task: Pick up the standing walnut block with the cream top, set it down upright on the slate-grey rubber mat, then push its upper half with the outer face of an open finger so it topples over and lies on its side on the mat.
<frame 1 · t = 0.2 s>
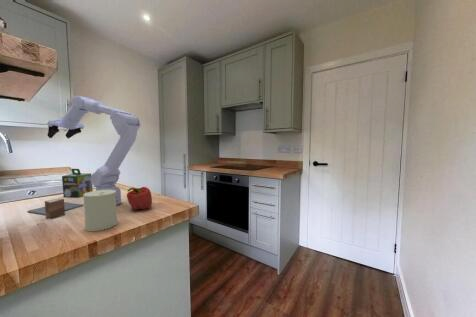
hand: (58, 136, 95), 31 cm above the worktop, tool tilted 50°, fingers open, 7 cm apart
mat: (57, 208, 84), on the worktop
chalk box: (78, 195, 106), on the worktop
block: (55, 216, 75), on the worktop
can: (101, 226, 67), on the worktop
vegetable: (139, 209, 85), on the worktop
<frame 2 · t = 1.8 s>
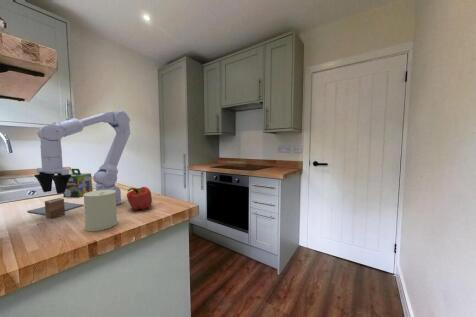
hand: (54, 192, 75), 9 cm above the worktop, tool pointing down, fingers open, 7 cm apart
nothing on the worktop moved.
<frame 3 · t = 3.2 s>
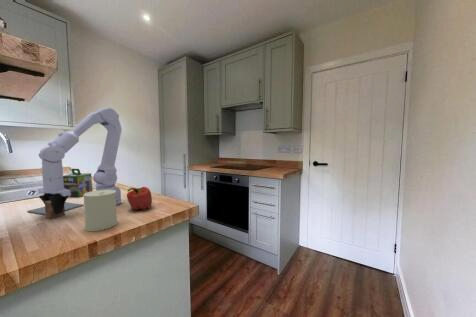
hand: (55, 212, 75), 1 cm above the worktop, tool pointing down, fingers closed on block, 3 cm apart
block: (55, 216, 75), on the worktop, touching gripper
everything else where it was.
when the fingers open (3 cm above the worktop, at t = 6.1 s): block stays where it is, resting on mat.
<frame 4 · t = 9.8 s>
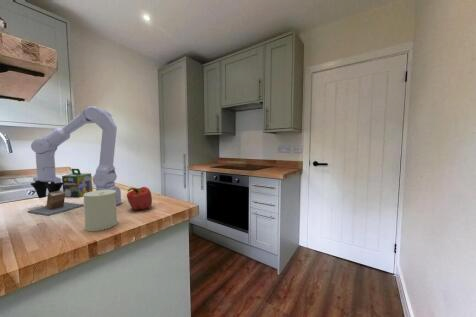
hand: (48, 198, 85), 4 cm above the worktop, tool pointing down, fingers open, 7 cm apart
block: (54, 206, 84), point 1 cm above the worktop, tilted 16°, touching mat
everything else where it was.
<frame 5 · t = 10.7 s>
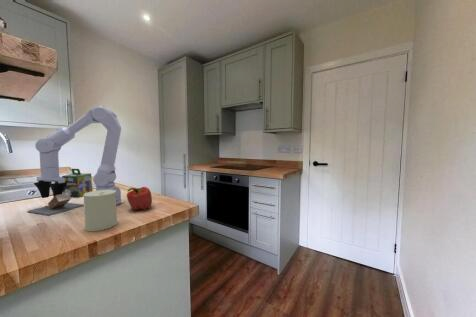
hand: (51, 198, 84), 4 cm above the worktop, tool pointing down, fingers open, 7 cm apart
block: (55, 205, 83), point 2 cm above the worktop, tilted 52°, touching gripper, mat
everything else where it was.
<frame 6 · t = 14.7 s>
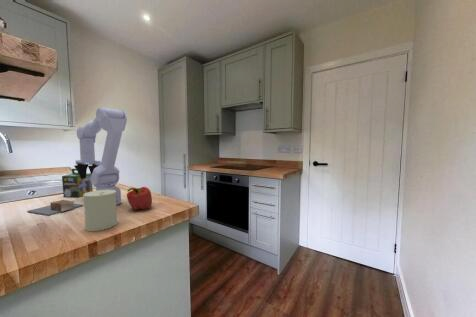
hand: (88, 179, 98), 10 cm above the worktop, tool pointing down, fingers open, 7 cm apart
block: (57, 204, 83), point 2 cm above the worktop, tilted 90°, touching mat
everything else where it was.
at the end: block tilted 90°; block inside the target area on the mat (1.1 cm from its centre), point 2.1 cm above the mat's base; the gripper is holding nothing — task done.
